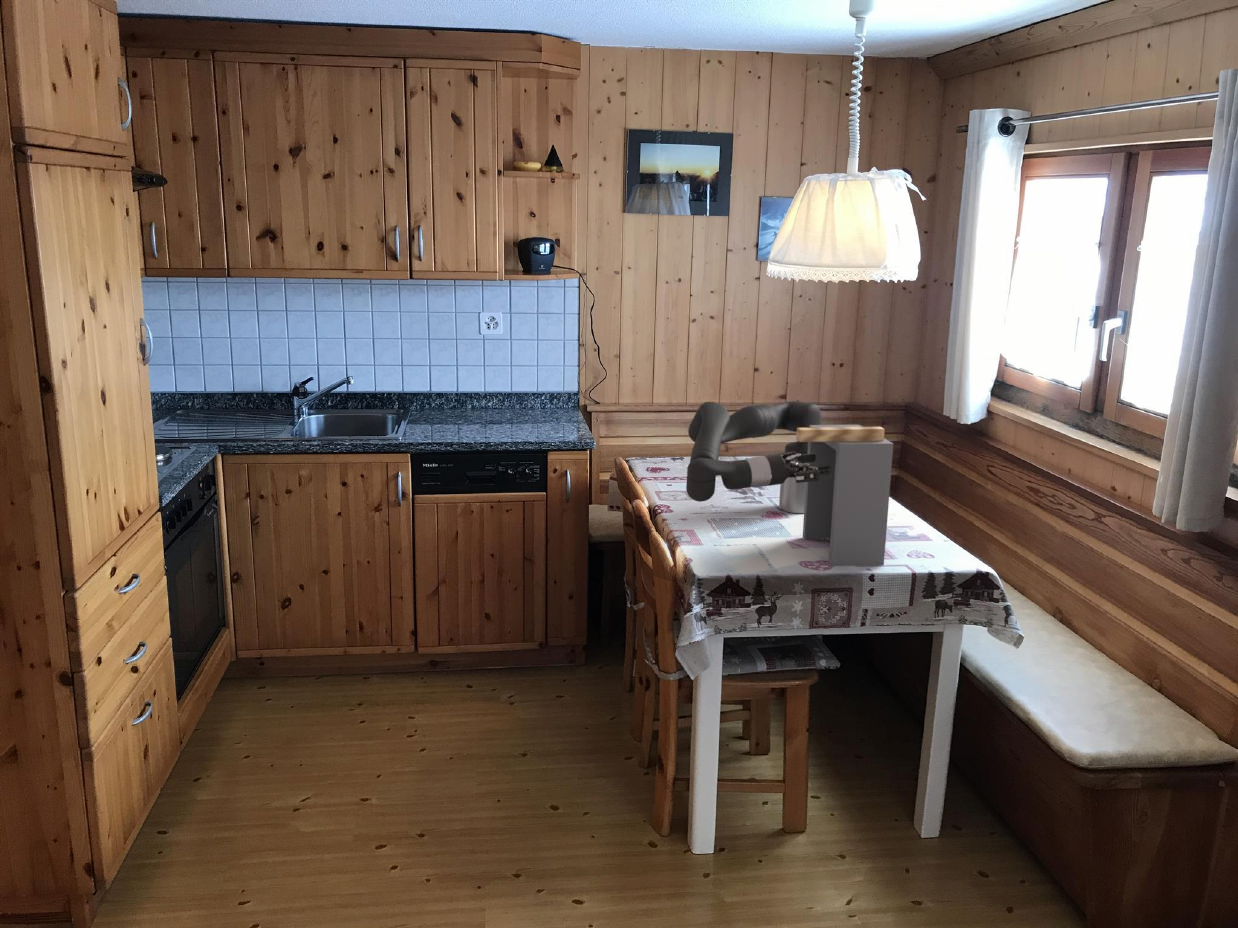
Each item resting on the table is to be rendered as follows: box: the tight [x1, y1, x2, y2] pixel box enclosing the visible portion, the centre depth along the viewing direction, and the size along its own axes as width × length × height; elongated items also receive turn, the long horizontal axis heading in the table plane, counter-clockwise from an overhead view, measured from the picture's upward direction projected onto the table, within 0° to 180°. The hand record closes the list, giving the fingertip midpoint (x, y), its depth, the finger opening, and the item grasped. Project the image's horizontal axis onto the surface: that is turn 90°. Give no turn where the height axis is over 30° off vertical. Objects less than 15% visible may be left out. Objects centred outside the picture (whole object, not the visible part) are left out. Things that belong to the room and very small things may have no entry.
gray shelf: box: [802, 424, 894, 567], centre depth 267 cm, size 14×24×32 cm, turn 8°
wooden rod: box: [796, 426, 885, 442], centre depth 255 cm, size 22×3×3 cm, turn 98°
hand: (822, 463), depth 254 cm, fingers open, 8 cm apart
